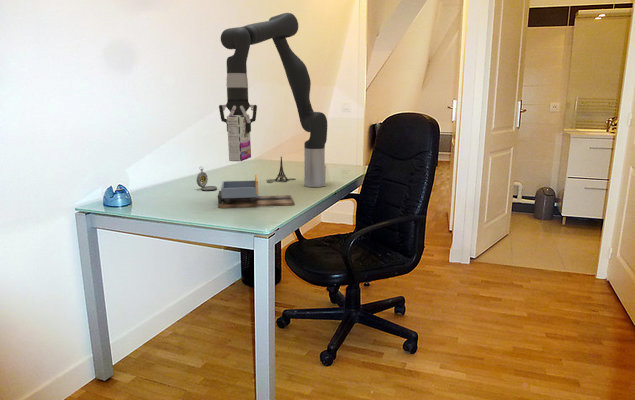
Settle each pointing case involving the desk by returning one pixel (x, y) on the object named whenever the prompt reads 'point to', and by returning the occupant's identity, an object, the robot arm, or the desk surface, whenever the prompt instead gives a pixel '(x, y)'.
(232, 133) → the candy bar box
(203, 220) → the desk surface
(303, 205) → the desk surface
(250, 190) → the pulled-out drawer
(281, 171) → the eiffel tower figurine
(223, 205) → the track
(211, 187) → the pocket watch
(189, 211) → the desk surface
